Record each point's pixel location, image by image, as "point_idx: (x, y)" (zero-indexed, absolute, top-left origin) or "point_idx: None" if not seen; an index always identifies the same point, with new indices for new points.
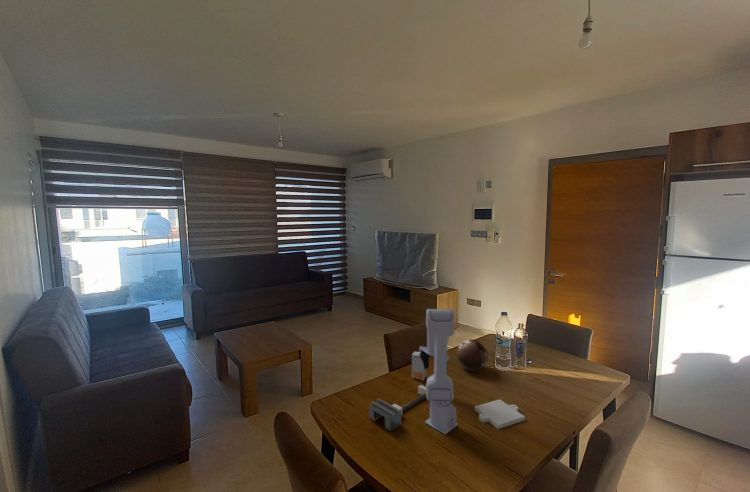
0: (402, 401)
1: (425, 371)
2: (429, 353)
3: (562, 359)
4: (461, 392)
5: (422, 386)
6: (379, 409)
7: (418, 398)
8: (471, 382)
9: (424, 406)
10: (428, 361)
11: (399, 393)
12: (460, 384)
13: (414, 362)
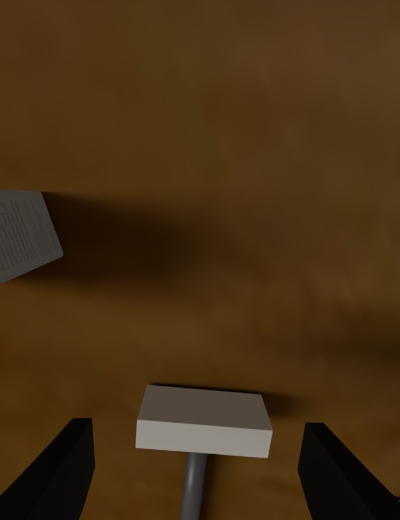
0: (130, 505)
1: (12, 210)
2: None
3: None
4: (365, 223)
5: (159, 431)
6: None
7: (199, 489)
8: (385, 10)
9: (246, 477)
10: (37, 507)
11: None
12: (317, 114)
13: None
